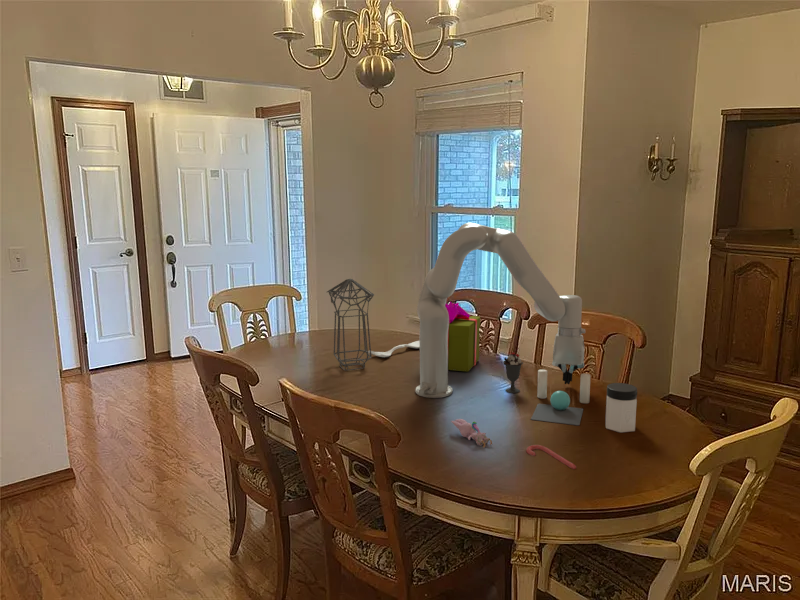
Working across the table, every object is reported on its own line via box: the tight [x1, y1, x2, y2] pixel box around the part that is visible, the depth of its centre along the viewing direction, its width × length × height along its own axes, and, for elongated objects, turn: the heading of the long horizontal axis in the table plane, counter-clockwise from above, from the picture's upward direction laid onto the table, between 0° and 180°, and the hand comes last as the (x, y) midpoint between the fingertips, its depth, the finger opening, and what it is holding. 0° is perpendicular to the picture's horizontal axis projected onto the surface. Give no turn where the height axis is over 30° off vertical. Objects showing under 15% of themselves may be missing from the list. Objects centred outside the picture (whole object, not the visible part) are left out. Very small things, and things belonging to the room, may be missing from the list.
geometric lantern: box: [326, 278, 375, 372], centre depth 232 cm, size 16×16×35 cm
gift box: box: [445, 301, 481, 372], centre depth 235 cm, size 21×21×25 cm
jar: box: [604, 382, 638, 434], centre depth 173 cm, size 9×8×12 cm
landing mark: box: [530, 403, 584, 426], centre depth 185 cm, size 14×14×1 cm
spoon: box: [368, 340, 420, 358], centre depth 257 cm, size 9×32×4 cm, turn 134°
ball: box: [549, 390, 571, 410], centre depth 188 cm, size 6×6×6 cm
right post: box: [579, 373, 591, 404], centre depth 194 cm, size 3×3×9 cm
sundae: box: [502, 347, 524, 394], centre depth 205 cm, size 7×7×15 cm
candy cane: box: [525, 444, 577, 470], centre depth 155 cm, size 6×15×2 cm, turn 25°
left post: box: [536, 369, 548, 400], centre depth 199 cm, size 3×3×9 cm
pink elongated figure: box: [450, 418, 493, 449], centre depth 168 cm, size 6×6×15 cm
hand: (567, 382), depth 209 cm, fingers closed
